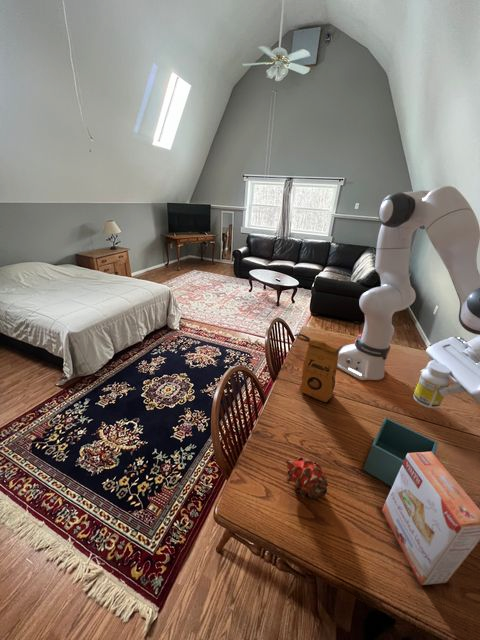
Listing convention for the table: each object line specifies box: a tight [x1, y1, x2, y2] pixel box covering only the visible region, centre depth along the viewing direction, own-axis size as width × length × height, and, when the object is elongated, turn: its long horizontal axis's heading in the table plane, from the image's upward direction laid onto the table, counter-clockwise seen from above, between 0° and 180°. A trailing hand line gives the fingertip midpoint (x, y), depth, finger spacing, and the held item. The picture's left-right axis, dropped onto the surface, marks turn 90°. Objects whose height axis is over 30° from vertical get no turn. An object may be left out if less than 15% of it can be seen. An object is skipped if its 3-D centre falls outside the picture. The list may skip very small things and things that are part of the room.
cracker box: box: [381, 452, 480, 586], centre depth 54 cm, size 14×6×21 cm, turn 5°
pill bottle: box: [413, 362, 451, 409], centre depth 70 cm, size 6×6×11 cm
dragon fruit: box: [285, 456, 329, 501], centre depth 68 cm, size 8×8×12 cm
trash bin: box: [362, 417, 439, 488], centre depth 73 cm, size 13×13×10 cm
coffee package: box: [298, 338, 339, 403], centre depth 98 cm, size 10×12×22 cm
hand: (430, 383), depth 70 cm, fingers closed on pill bottle, 6 cm apart
